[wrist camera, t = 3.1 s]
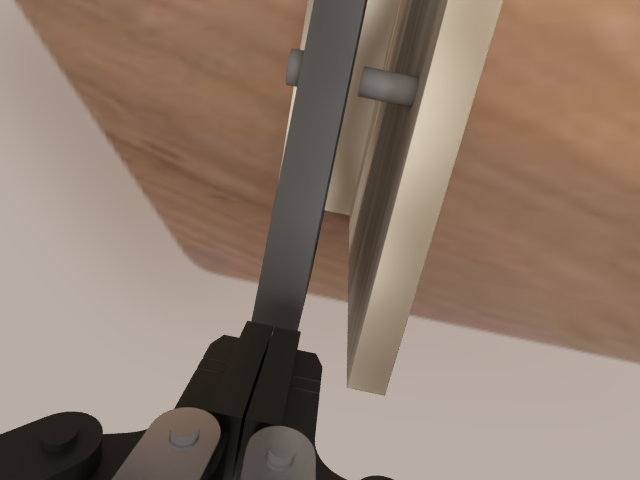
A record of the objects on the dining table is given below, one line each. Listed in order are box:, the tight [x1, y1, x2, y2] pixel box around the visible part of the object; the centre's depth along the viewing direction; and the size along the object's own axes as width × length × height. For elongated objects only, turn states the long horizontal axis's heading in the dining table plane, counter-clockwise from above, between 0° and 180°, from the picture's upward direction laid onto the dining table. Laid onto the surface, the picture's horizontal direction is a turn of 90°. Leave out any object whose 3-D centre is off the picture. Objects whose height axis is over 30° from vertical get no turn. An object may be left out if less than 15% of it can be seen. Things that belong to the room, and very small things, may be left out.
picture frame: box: [252, 0, 368, 332], centre depth 21 cm, size 2×18×14 cm, turn 169°
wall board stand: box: [278, 0, 503, 395], centre depth 25 cm, size 12×22×26 cm, turn 169°
